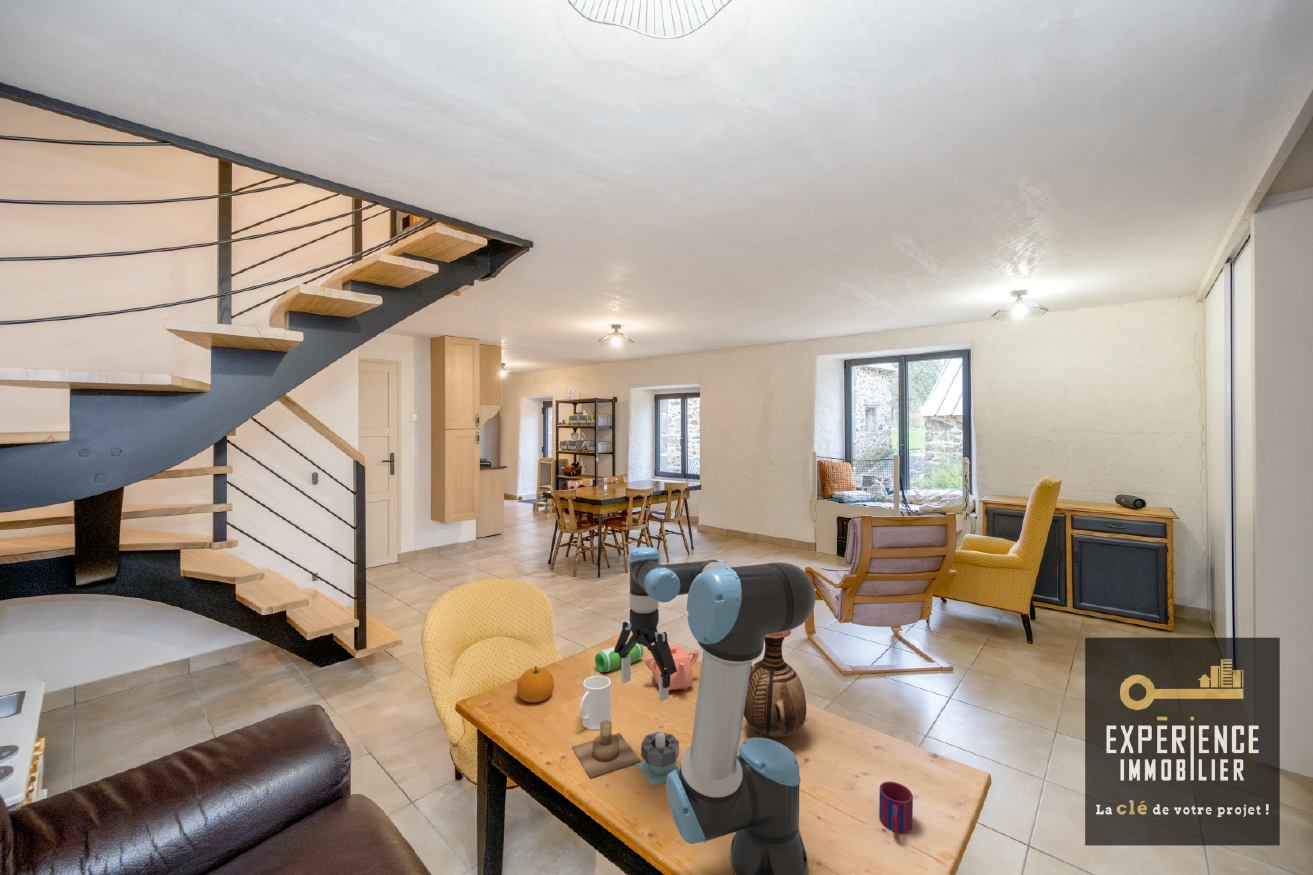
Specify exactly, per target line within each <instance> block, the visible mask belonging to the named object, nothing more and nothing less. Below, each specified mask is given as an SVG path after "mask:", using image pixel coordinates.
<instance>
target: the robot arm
mask: <svg viewBox="0 0 1313 875" xmlns="http://www.w3.org/2000/svg"><path fill="white" fill-rule="evenodd" d="M659 556H660V555H659V550H658V549H656V548H654V547H650V546H642V547H641V546H640V547H635V548H633V549H631V551H630V552H629V562H628V564H629V608H630V609H629V619H628V620H626V621H624V622H623V621H622V629H621V632H620V634H619V637H618V639H617V641H616V644H615V646H616V647H615V649H614V652H615V653H618V654H619V657H620V668H619V669H621V670H620V671H621V672H620V673H621V674H620V675H621V676H620V678H621V680H620V681H621V682H620V683H622V684H626V683H627V682H629V681H631V679H632V677H631V672H632V671H631V670H632V668H631V665H632V663H631V656H629V655H628V654H630V653H629V652H630V651H631V650H632V649H633V647H634V646H635V645H636V643H637V644H641V645H642V647H644V648H646V649H647V650H648V651H650V653H651V656H653V657H654V659H655V661H656V663H657V665H658V667H659V669H660V672H661V674H659V685H658V701H659V702H663V701H665V700H667V699H668V698H669V693H668V687H669V686H670V675H672V674H673V673H675V672H677V668H676V665H675V662H674V659H673V656H672V653H671V650H670V647H669V642H668V634H667V631H663V632H660V631H659V632H658V625H659V622H660V621H659V619H660V618H659V615H660V614H659V612H660V611H659V609H658V608H659V602H661V603H669V602H671V601H672V600H674V599H675V598H676V597H678V596H683V595H687V599H686V611H687V612H688V615H687V623H688V627H689V630H690V632H691V635H692V636H693V637H694V639H695V640H696V642H697V644H698V646H699V647H700V649H701V650H702V651H703V652H702V659H701V667H700V674H699V681H698V689H697V696H696V706H695V714H694V720H693V730H692V736H691V744H690V746H689V747H688V748H687V749H686V750H685V751H684V753H683V755H682V756H681V758H680V759H681V760H680V765H679V768H680V770H677V771H676V770H673V772H670V773H669V774H668V775H667V779H666V782H665V784H666V792H667V799H668V803H669V807H670V811H671V815H672V817H673V821H674V823H675V826H676V829H677V831H678V833H679V835H680V836H681V839H682V840H683V841H684V842H685V843H687V844H689V845H694V844H698V843H707V841H710V840H711V841H712V840H715V839H718V838H721V837H723V836H727V835H730V834H732V833H735V834H734V835H733V837H732V839H731V844H730V865H731V867H732V871H733V870H734V871H733V872H735V873H736V874H735V873H734V874H735V875H807V874H808V875H809V869H808V867H809V861H808V855H807V851H806V848H805V845H804V841H803V837H802V835H801V832H800V784H801V775H800V764H799V761H798V759H797V756H796V755H795V754H794V752H793V751H792V750H791V749H789V747H787V746H786V745H784V744H782V743H780V742H778V741H776V740H774V739H770V738H768V737H767V738H765V737H749V738H746V739H745V740H743V741H742V743H741V742H740V741H741V733H742V727H743V720H744V709H745V703H746V696H747V690H748V684H749V677H750V671H751V665H752V663H753V661H756V660H757V659H758V658H759V657H760V656H761V655H762V653H763V652H764V651H763V650H764V647H765V636H766V635H767V634H771V633H777V632H783V631H788V630H790V631H791V630H794V629H796V628H798V627H800V626H802V625H803V624H804V623H805V622H806V621H807V620H809V617H811V615H812V613H813V611H814V608H815V606H816V605H815V604H816V590H815V585H814V583H813V581H812V579H811V578H810V576H809V575H808V574H807V572H805V571H804V569H801V567H799V566H797V565H794V564H791V563H789V562H788V563H787V562H769V563H768V562H767V563H760V564H758V563H757V564H750V565H749V564H748V565H745V564H735V563H727V561H725V560H723V559H708V560H700V561H693V562H692V561H689V562H677V563H668V564H667V563H666V564H661V563H660V557H659ZM631 632H632V635H631ZM630 635H631V636H630ZM626 642H627V644H626ZM627 655H628V656H627ZM664 668H666V669H664ZM740 743H741V744H740ZM738 754H739V755H738Z"/></svg>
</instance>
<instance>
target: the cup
mask: <svg viewBox="0 0 1313 875" xmlns="http://www.w3.org/2000/svg"><path fill="white" fill-rule="evenodd" d="M878 800H879V803H878V804H879V807H878V808H879V809H878V810H879V811H878V812H879V813H878V814H879V815H878V818H879V821H880V822H881V824H882V825H883V826H884V827H885V828H886V827H887V828H886V829H888V830H889V829H890V831H891V830H892V832H894V833H897V832H898V833H897V834H907V833H909V832H911V831H912V829H913V821H914V820H913V812H914V811H913V808H914V805H913V804H914V802H913V801H914V796H913V793H912V791H911V790H910V789H909V788H908V787H907V786H906V785H903V784H901V783H899V782H895V781H885V782H882V783H880V785H879V799H878ZM910 830H911V831H910ZM908 831H909V832H908ZM906 832H907V833H906Z"/></svg>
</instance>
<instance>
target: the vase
mask: <svg viewBox="0 0 1313 875" xmlns="http://www.w3.org/2000/svg"><path fill="white" fill-rule="evenodd" d="M791 633H792V631H791V630H788V631H783V632H777V633H771V634H767V635H766V636H765V640H764V652H763V653H764V655H763V657H762V659H761V660H758V661H757V662H755V663H754V664H753V665H752V664H751V671H750V677H749V684H748V690H747V696H746V703H745V709H744V716H743V718H744V719H745V721H746V723H748V725H749V726H750V727H751V728H752V729H754V730H756V732H758V733H760V734H762V735H765V736H769V737H785V736H788V735H792V734H796V733H797V732H799V731H800V730H801V729H802V728H803V726H804V724H805V721H806V718H807V698H806V692H805V689H804V687H803V684H802V681H801V679H800V677H799V675H798V673H797V672H796V670H795V669H794V668H793V666H791V665H790V664H788V663H787V662H785V660H784V657H783V643H784V641H785V640H784V639H785V638H786V637H788V636H790V635H791Z"/></svg>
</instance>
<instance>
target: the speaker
mask: <svg viewBox="0 0 1313 875" xmlns="http://www.w3.org/2000/svg"><path fill="white" fill-rule="evenodd" d="M627 642H628V641H627ZM627 642H626V644H627ZM615 647H616V645H614V646H611V647H608V648H606V649H603V650H600V651H599V652H598V653H596V654H595V656H594V663H595V666H596V667H595V668H596V669H597V671H598V672H600V673H607V672H608V673H609V672H612V671H616V670H619V669H621V668H620V657H619V654H618V653H615V652H614V649H615ZM643 647H644V646H643V645H642V644H637V643H636V645H635V646H634V647H633V649H632V650H631V651H630V652H629V653H630V654H628V655H629V656H631V664H633V663H635V662H637V661H639V660H640V659H641V658H642V657H643V655H644V648H643ZM628 655H627V656H628Z"/></svg>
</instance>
